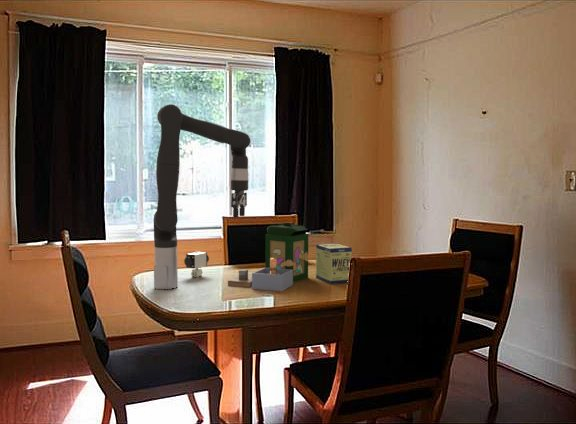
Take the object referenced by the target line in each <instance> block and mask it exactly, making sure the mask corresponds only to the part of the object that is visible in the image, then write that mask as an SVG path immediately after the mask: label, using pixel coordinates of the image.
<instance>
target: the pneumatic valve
mask: <svg viewBox="0 0 576 424" xmlns="http://www.w3.org/2000/svg"><path fill="white" fill-rule="evenodd" d="M209 259H210V256H209V255H208V252H206V251H198V250H195V252H191V253H186V254H185V258H184V262H183V263H184V265H185V266H186V268H187V269H191V273H190V274H191V275H190V276H191V277H192V276H195V277H194V278H196V277H197V278H200V277H199V276H202V277H203V269H202V268H204V267H208V263H209Z"/></svg>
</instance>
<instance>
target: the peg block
mask: <svg viewBox="0 0 576 424" xmlns="http://www.w3.org/2000/svg"><path fill="white" fill-rule="evenodd" d="M270 274H276V275H281V274H279V273H277V258H270Z"/></svg>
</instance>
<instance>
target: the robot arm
mask: <svg viewBox="0 0 576 424" xmlns="http://www.w3.org/2000/svg"><path fill="white" fill-rule="evenodd" d="M156 117H157V121H158V123H159V124H160V134H161V135H160V142H159V147H158V151H157V156H156V171H155V173H156V188H157V207H156V211H155V213H154V215H153V240H154V241H153V242H154V266H153V289H154V288H156V290H164V289H166V290H167V289H168V290H173V289H172V288H174V289H177V288H178V287H179V285H178V283H179V281H178V279H179V278H178V277H179V276H178V237H177V236H178V235H177V225H178V209H177V208H178V207H177V196H178V195H177V194H178V188H179V179H180V163H181V162H180V161H181V160H180V150H181V149H180V136H181V135H180V134H181V131H185V132H189V133H192V134H194V135H198V136H200V137H202V138H206V139H208V140H211V141H214V142H216V143H220V144H227V145H229V146H230V152H231V172H230V190H231V191H234V192H231V196H230V197H231V200H230V207H231V208H232V217H233V218H237V219H238V218H239V216H240V217H244V216H245V213H246V212H245V211H246V209H245V208H246V207H247V205H248V200H247V199H248V196H247V195H248V193H247V191H248V190H249V157H248V156H247V148H248V147H249V146H250V145H251V137H250V136H249V134H247V133H246V132H244V131H240V130H237V129H232V128H228V127H227V126H224V125H220V124H218V123H214V122H211V121H208V120H205V119H204V120H203V119H199V118H196V117H195V118H194V117H192V116H189V115H187V114H185V113H182V110H181V109H180V108H179V107H178V106H177V105H175V104H171V103H170V104H166V105H164V106H162V107H161V108H160V109H159V110H158V112H157V115H156ZM245 191H246V192H245ZM176 287H177V288H176Z"/></svg>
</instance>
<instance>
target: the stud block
mask: <svg viewBox="0 0 576 424" xmlns="http://www.w3.org/2000/svg"><path fill="white" fill-rule="evenodd" d="M227 286H232V287H241V288H242V287H243V288H244V287H245V288H250V287H251V288H252V276H251V277H249V269H239V270H238V276H236V277H233V278H231V279H228V280H227Z"/></svg>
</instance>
